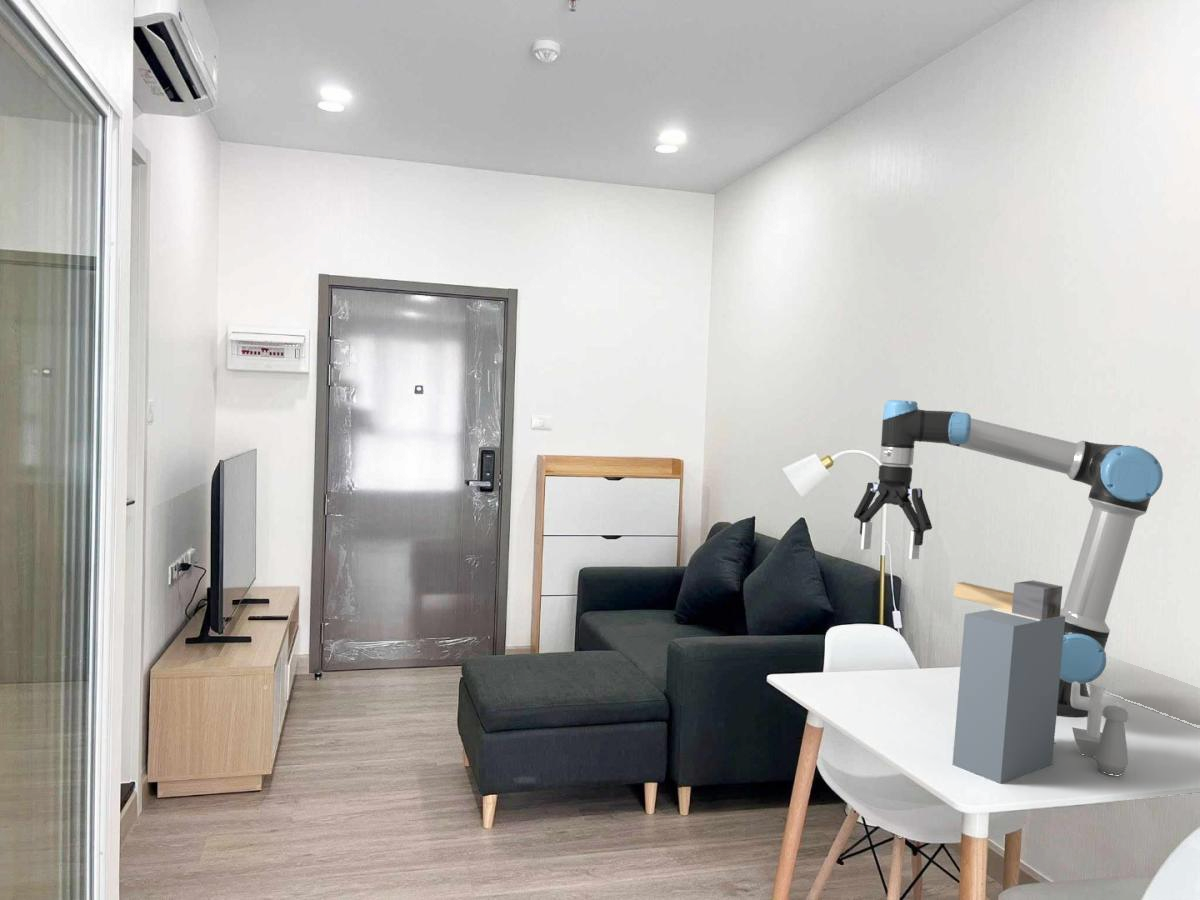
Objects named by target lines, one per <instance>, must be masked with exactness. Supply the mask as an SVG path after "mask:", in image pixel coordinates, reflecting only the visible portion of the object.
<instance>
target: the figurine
mask: <svg viewBox="0 0 1200 900" xmlns="http://www.w3.org/2000/svg"><path fill="white" fill-rule="evenodd" d="M1088 690H1089V697H1084V696H1080V683H1078V682H1073V683H1072V686H1071V697H1070V703H1071V706H1072V707H1073V708H1075V709H1081V710H1086V711H1088V715H1087V721H1086V722H1087V723H1086V729H1084V728H1083V729H1082V728H1080V727H1072V728H1071V729H1072V733H1073V737H1074V741H1075V744H1076V745H1077V747H1076V748H1077V750H1078V753H1079V755H1080V754H1084V755H1083V756H1085V755H1091V756H1095V754H1096V751H1097V748H1098V745H1099V741H1100V738H1101V735H1102V732H1101V723H1102V716H1103V710H1104V708H1105V707H1106V706H1118V707H1121V708H1122V705H1121V704H1120V702H1117V701H1114V700H1108V699H1104V694H1105V693H1106V684H1104V683H1103V682H1102V681H1098V680H1093V681H1091V682H1089V689H1088ZM1091 756H1090V757H1091Z"/></svg>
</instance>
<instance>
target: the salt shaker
mask: <svg viewBox="0 0 1200 900" xmlns="http://www.w3.org/2000/svg"><path fill="white" fill-rule="evenodd" d="M1102 716H1103V717H1104V719H1105V721H1104V725H1103V729H1102V732H1101V733H1102V735H1101V738H1100V741H1099V745H1098V748H1097V751H1096V754H1095V757H1094V761H1095V764H1096V765H1097V767H1098V769H1099V770H1100V771H1102V772H1105V773H1107V774H1113V775H1120V774H1122V773H1123V774H1124V772H1125V770H1126V769H1128V766H1129V756H1128V746H1127V737H1126V730H1125V729H1126V727H1125V723H1127V721H1128V720H1129V712H1128V711H1127V710H1126V709H1125V708H1123V707H1122V706H1121V707H1118V706H1106V707H1105V708H1104V710H1103V713H1102ZM1100 771H1099V772H1100ZM1102 772H1101V773H1102ZM1105 773H1104V774H1105ZM1107 774H1106V775H1107ZM1123 774H1122V775H1123ZM1120 776H1121V775H1120Z"/></svg>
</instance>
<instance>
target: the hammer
mask: <svg viewBox="0 0 1200 900" xmlns="http://www.w3.org/2000/svg"><path fill="white" fill-rule="evenodd" d="M1062 596H1063V586H1062V585H1058V584H1052V583H1048V582H1044V581H1037V580H1027V581H1020V582H1014V583H1013V592H1011V591H1010V592H1009V591H1005V590H1002V589H1001V590H1000V589H997V588H992V587H988V586H982V585H978V584H973V583H969V582H964V581H962V582H955V583H954V593H953V598H955V599H961V600H964V601H968V602H972V603H973V602H974V603H977V604H982V605H986V606H991V607H995V608H1002V609H1007V610H1011V611H1012V613H1014V614H1019V615H1023V616H1027V617H1031V618H1036V619H1040V620H1043V619H1049V618H1054V617H1059V616H1060V610H1061V609H1062V608H1061V607H1062Z"/></svg>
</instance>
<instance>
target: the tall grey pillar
mask: <svg viewBox="0 0 1200 900" xmlns="http://www.w3.org/2000/svg"><path fill="white" fill-rule="evenodd" d="M1064 625H1065V616H1063V615H1060V616H1059V617H1054V618H1049V619H1043V620H1040V619H1036V618H1031V617H1027V616H1023V615H1019V614H1014V613H1012V611H1011V610H1007V609H1002V608H998V607H995V608H992V609H987V610H982V611H976V612H969V613H964V621H963V631H962V632H963V633H962V643H961V644H962V646H961V657H960V659H961V660H960V670H959V681H958V691H957V692H958V694H957V703H956V704H957V705H956V717H955V718H956V719H955V727H954V729H955V730H954V743H953V751H952V752H953V753H952V754H953V755H952V766H955V767H958V768H961V769H963V770H965V771H968V772H970V773H973V774H974V775H978V776H980V777H983V778H986V779H988V780H990V781H992V782H996V783H998V784H1000V785H1001V784H1003V783H1005V782H1008V781H1011V780H1014V779H1016V778H1018V777H1021V776H1024V775H1027V774H1030V773H1033V772H1035V771H1038V770H1041V769H1044V768H1045V767H1049V766H1051V765H1053V760H1054V759H1053V758H1054V757H1053V755H1054V746H1055V744H1054V743H1055V738H1056V737H1055V735H1056V725H1057V724H1056V723H1057V704H1058V693H1059V681H1060V670H1061V659H1062V648H1063V637H1064Z"/></svg>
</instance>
